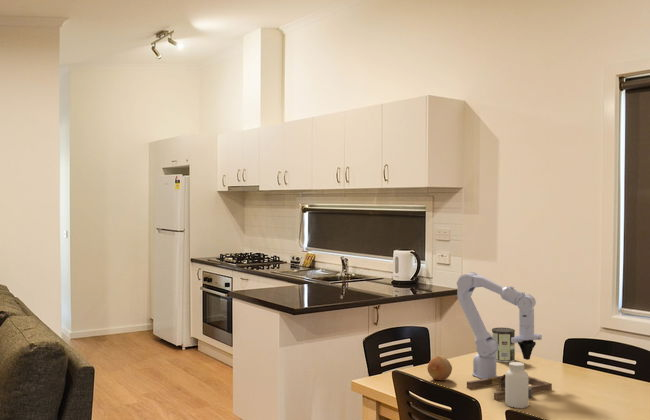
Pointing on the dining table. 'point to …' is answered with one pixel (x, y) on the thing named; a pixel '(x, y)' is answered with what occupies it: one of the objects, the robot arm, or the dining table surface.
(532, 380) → the walnut slot beam
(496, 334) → the coffee can
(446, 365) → the onion
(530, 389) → the block
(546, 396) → the dining table surface
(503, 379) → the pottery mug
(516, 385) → the pill bottle
